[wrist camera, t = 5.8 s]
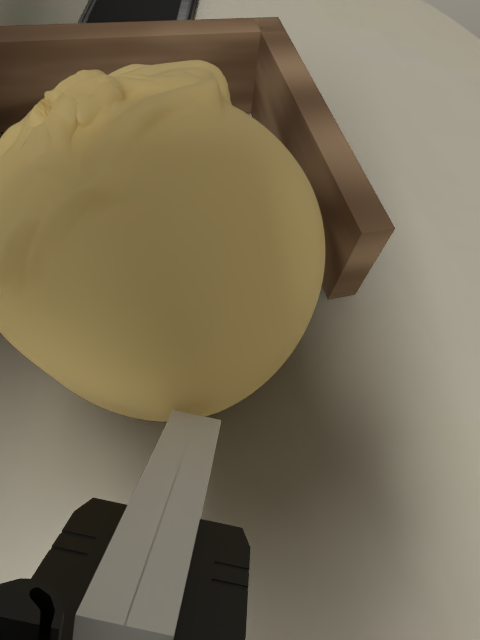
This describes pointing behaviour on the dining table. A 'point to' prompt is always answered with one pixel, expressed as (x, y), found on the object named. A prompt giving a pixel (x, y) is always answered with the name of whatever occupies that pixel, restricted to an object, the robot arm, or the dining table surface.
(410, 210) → the dining table surface
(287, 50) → the bay
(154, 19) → the phone
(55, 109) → the sculpture
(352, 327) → the dining table surface
